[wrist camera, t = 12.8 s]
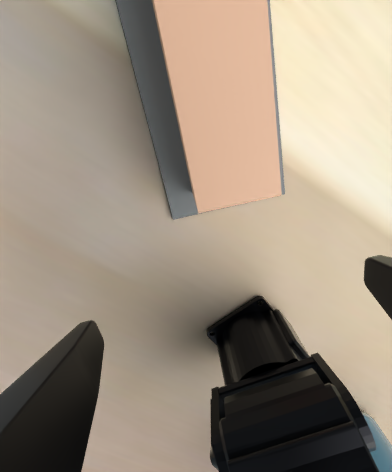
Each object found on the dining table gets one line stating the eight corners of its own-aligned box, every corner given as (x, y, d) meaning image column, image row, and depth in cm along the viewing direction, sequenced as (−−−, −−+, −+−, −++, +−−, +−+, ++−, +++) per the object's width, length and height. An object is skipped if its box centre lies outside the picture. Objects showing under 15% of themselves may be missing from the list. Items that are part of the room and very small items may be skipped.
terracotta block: (281, 195, 15) (255, -161, 10) (198, 213, 15) (126, -132, 10) (256, 179, 20) (229, -70, 15) (192, 193, 20) (141, -50, 15)
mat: (283, 193, 21) (285, 194, 21) (173, 218, 21) (173, 219, 21) (260, -90, 15) (262, -95, 14) (102, -52, 15) (101, -56, 14)
